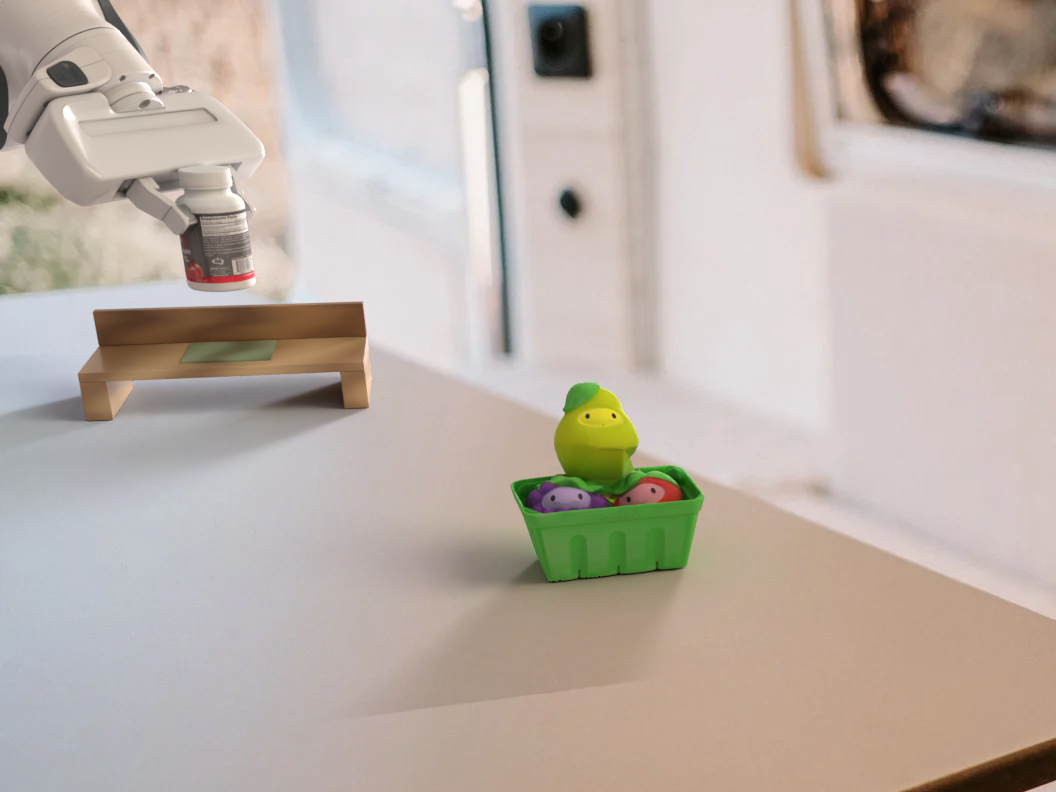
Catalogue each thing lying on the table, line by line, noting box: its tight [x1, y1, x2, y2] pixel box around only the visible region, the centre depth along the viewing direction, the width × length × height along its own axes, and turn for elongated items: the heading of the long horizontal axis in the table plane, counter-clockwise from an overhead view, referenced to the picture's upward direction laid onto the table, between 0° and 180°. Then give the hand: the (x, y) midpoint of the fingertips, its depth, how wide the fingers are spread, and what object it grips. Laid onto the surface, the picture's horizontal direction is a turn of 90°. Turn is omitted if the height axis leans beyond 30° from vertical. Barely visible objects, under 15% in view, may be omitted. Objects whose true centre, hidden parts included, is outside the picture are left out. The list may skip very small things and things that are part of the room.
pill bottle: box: [174, 166, 256, 293], centre depth 135 cm, size 5×5×10 cm
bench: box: [77, 300, 373, 422], centre depth 139 cm, size 22×11×7 cm, turn 107°
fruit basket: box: [510, 381, 706, 583], centre depth 104 cm, size 11×9×11 cm
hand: (217, 223), depth 135 cm, fingers closed on pill bottle, 5 cm apart
